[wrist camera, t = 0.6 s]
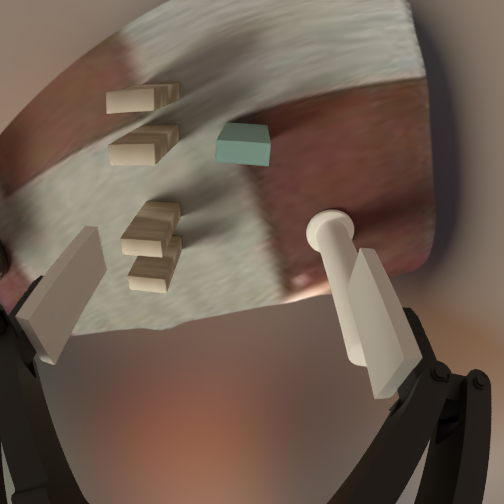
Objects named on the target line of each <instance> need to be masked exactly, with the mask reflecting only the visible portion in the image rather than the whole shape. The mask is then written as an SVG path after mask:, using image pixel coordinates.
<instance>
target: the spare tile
mask: <svg viewBox="0 0 504 504" xmlns="http://www.w3.org/2000/svg"><path fill="white" fill-rule="evenodd" d="M270 148H271V142H270V136H269V131H268V125H259V124H246V123H230V122H227V123H226V124H225V126H224V128H223V129H222V131H221V133H220V135H219V136H218V138H217V140H216V162H218V163H235V164H249V165H262V166H269V157H270Z"/></svg>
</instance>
